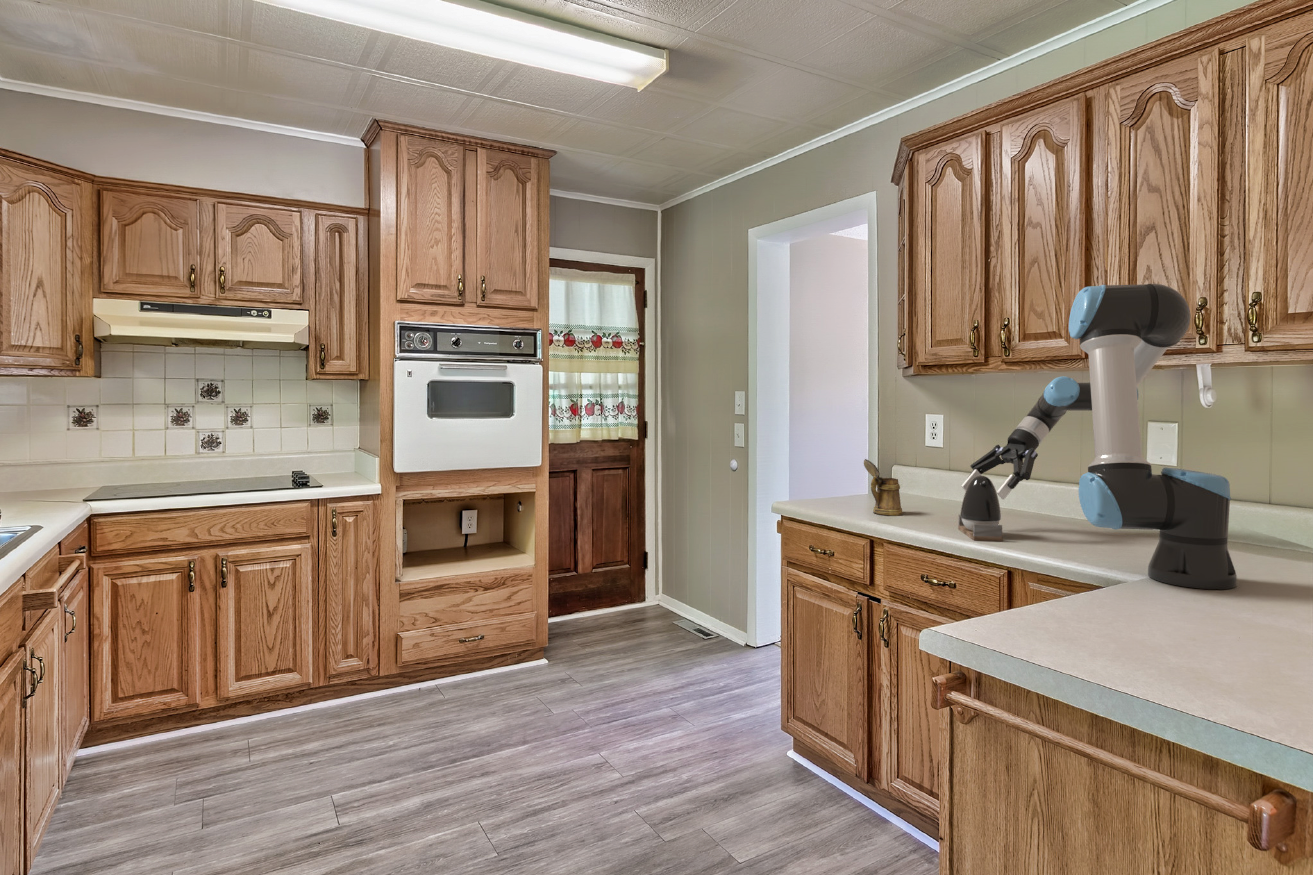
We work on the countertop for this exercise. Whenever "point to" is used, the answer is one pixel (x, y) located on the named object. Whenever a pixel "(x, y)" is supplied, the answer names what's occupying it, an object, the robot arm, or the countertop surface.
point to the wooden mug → (884, 492)
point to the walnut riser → (982, 531)
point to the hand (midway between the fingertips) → (981, 492)
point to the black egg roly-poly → (980, 503)
